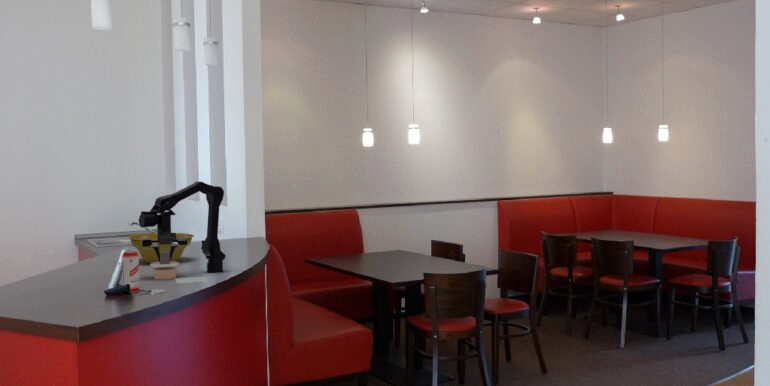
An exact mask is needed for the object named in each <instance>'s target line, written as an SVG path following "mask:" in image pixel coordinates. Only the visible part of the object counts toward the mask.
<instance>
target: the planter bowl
mask: <svg viewBox="0 0 770 386" xmlns="http://www.w3.org/2000/svg"><path fill="white" fill-rule="evenodd" d="M175 233H176V239H177V238H181V237H185V238H186V239H187V245H179V244H178V247H176V248H175V250H174V252H173V255H172V258H171V261H175V262H177V261H179V259H180V258H181V256H182V255H183V253H184V251H185V248H187V247H188V246H190V244H191V243H192V239H193V237H195V235H194V234H193V233H192V234H190V233H183V232H182V233H181V232H180V233H179V232H175ZM127 238H128V239H129V240H130V243H131V245H132V246H133V248H136V249H137V250H138V251H137V252H138V254H139V255H140V257H141V258H142V260H144V261H145V262H146V263H148V264H151V263H154V262H159V260H158V257H157V254H156V252H155V250H154V248H151V246H147V247H142V244H141V240H142V239H151V240H157V232H152V233H138V234H133V235H129V236H127ZM170 245H171V244H169V245H168V244H164V245H161V244H158V247H159V251H169V252H170Z"/></svg>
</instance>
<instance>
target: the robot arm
mask: <svg viewBox="0 0 770 386" xmlns="http://www.w3.org/2000/svg"><path fill="white" fill-rule="evenodd" d="M199 192H200V193H202V194H203V195H205V197H206V198H205V199H206V202H207V205H208V213H207V229H206V230H207V231H206V236H205V238H204V240H201V248H200V249H201V252H202V254H203V255H204V256H205V259H207V262H206V272H207V273H209V274H219V273H224V262H223V261H225V258H226V257H227V256H226V254H225V253H224V252H223V251H222V250H221V243H220V241H219V237H218V236H219V235H218V233H219V222H220V221H219V217H220V206H221V204H222V201H223V200H224V196H225V190H224V188H223V187H221V186H215V185H211V184H208V183H205V182H203V181H195V182H193V183H191V184H189V185H188V186H186V187H184V188H181V189H179V190H178V191H176V192H173V193H170V194H165V195H163V196H159V197H157V198H156V199H155V201H154V205H153V206H152V208H151V209H150V210H149V211H146V210H145V211H143V210H142V211H140V214H139V217H138V224H139V227H140V228H154V227H157V229H156V231H157V232H156V233H157V240H151V239H142V240H141V244H142V247H147V246H151V248H154V250H155V252H156V254H157V257H158V260H159V262H160V254H159V247H158V244H161V245H164V244H168V245H169V244H171V245H170V261H171V258H172V255H173V252H174V250H175V248H176V247H178V244H179V245H187V239H186V238H185V237H181V238H177V239H176V233H177V232H172V216H176V213H175V212H174V211H173V210H172V208H175V206H177V205H178V203H179V202H181V201H183V200H185V199H187V198H189V197H191V196H193V195H195V194H196V193H197V194H198V193H199Z"/></svg>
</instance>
